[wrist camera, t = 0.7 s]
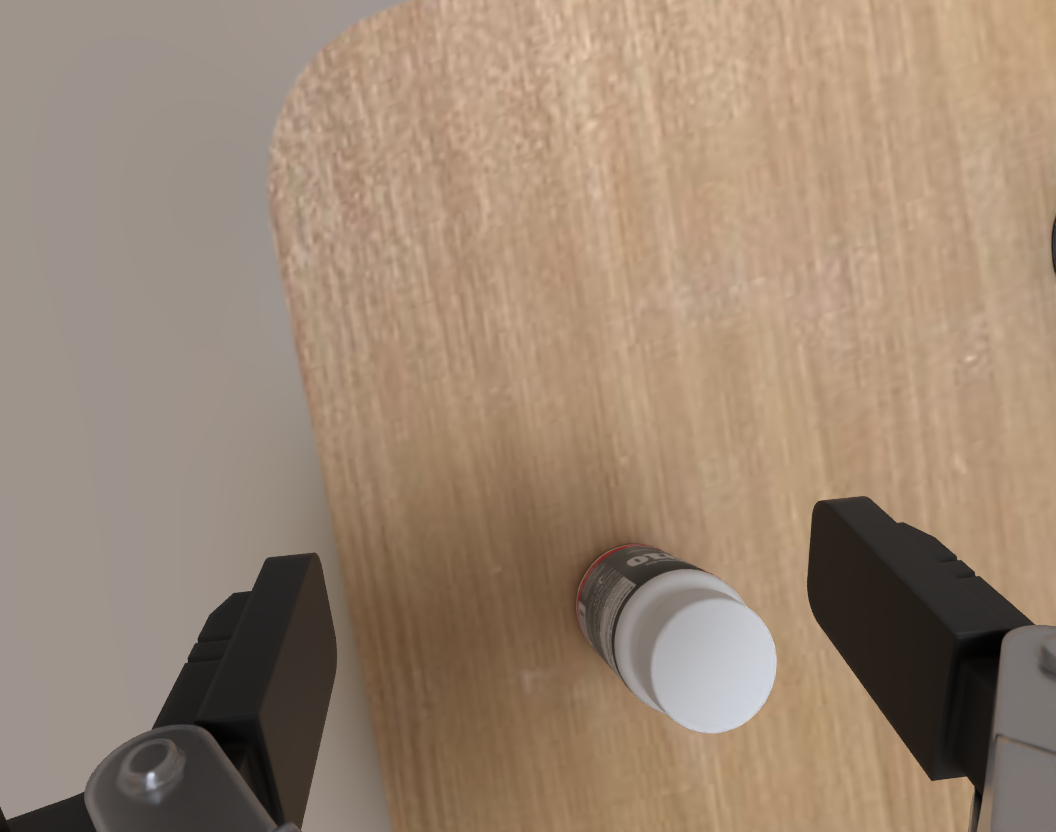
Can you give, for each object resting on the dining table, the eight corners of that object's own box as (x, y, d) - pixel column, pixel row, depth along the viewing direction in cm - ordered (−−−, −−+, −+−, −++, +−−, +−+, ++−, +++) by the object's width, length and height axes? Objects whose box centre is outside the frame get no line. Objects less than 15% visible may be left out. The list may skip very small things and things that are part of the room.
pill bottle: (701, 563, 31) (812, 612, 23) (664, 674, 31) (763, 765, 23) (596, 526, 30) (671, 563, 22) (556, 640, 30) (618, 720, 22)
